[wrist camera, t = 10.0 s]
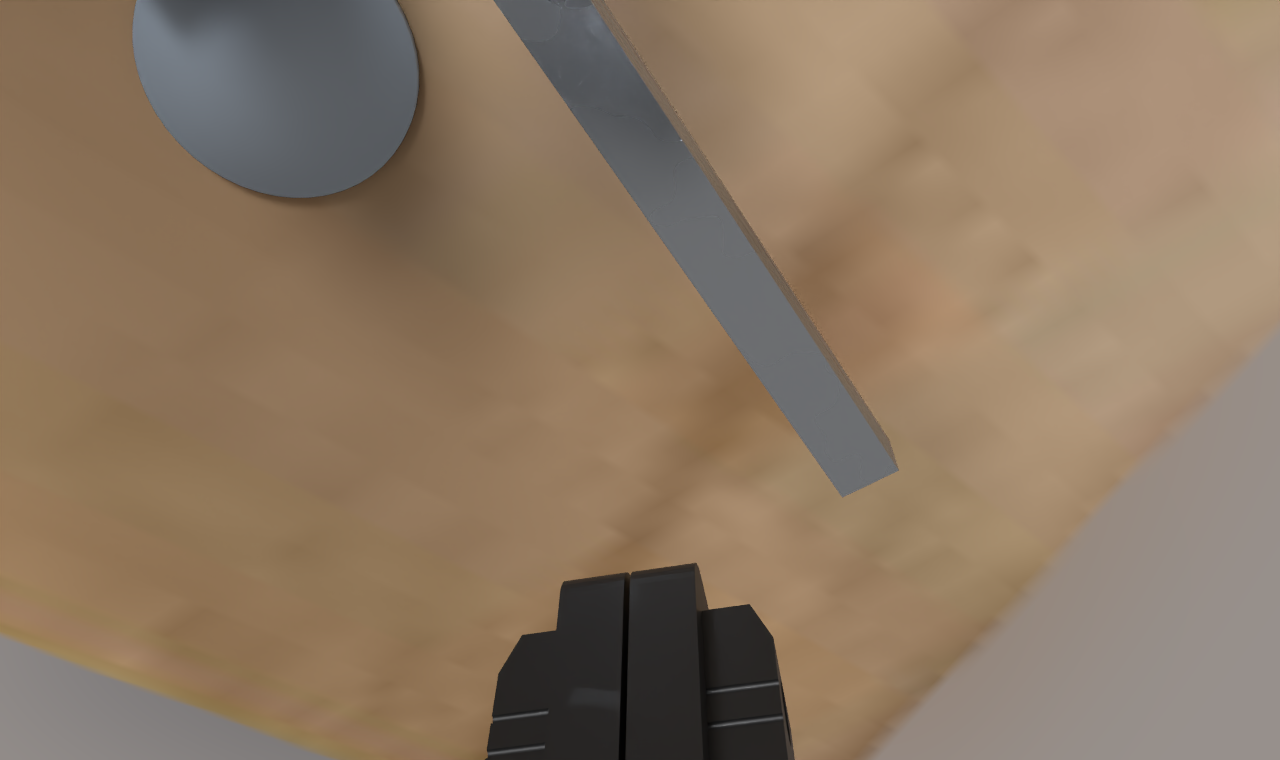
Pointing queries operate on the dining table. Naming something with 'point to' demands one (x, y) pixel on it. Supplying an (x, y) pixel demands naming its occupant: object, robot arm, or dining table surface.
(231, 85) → the mat
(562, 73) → the gray square bar
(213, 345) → the dining table surface
